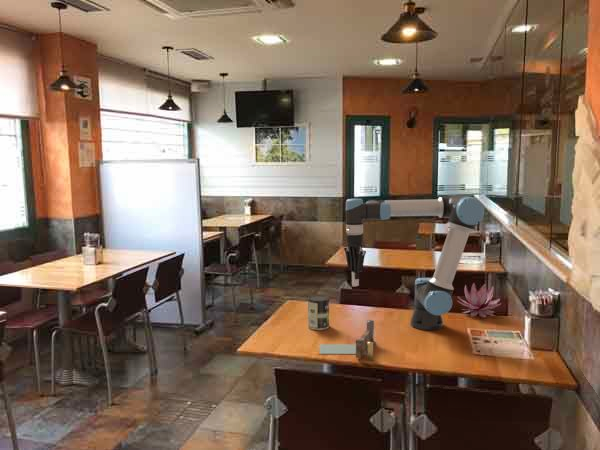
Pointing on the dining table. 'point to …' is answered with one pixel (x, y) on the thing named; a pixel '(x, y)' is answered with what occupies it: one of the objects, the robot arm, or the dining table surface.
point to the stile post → (369, 350)
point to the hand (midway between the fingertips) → (355, 285)
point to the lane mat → (337, 349)
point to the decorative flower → (479, 301)
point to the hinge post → (371, 327)
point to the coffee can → (318, 312)
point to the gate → (362, 343)
